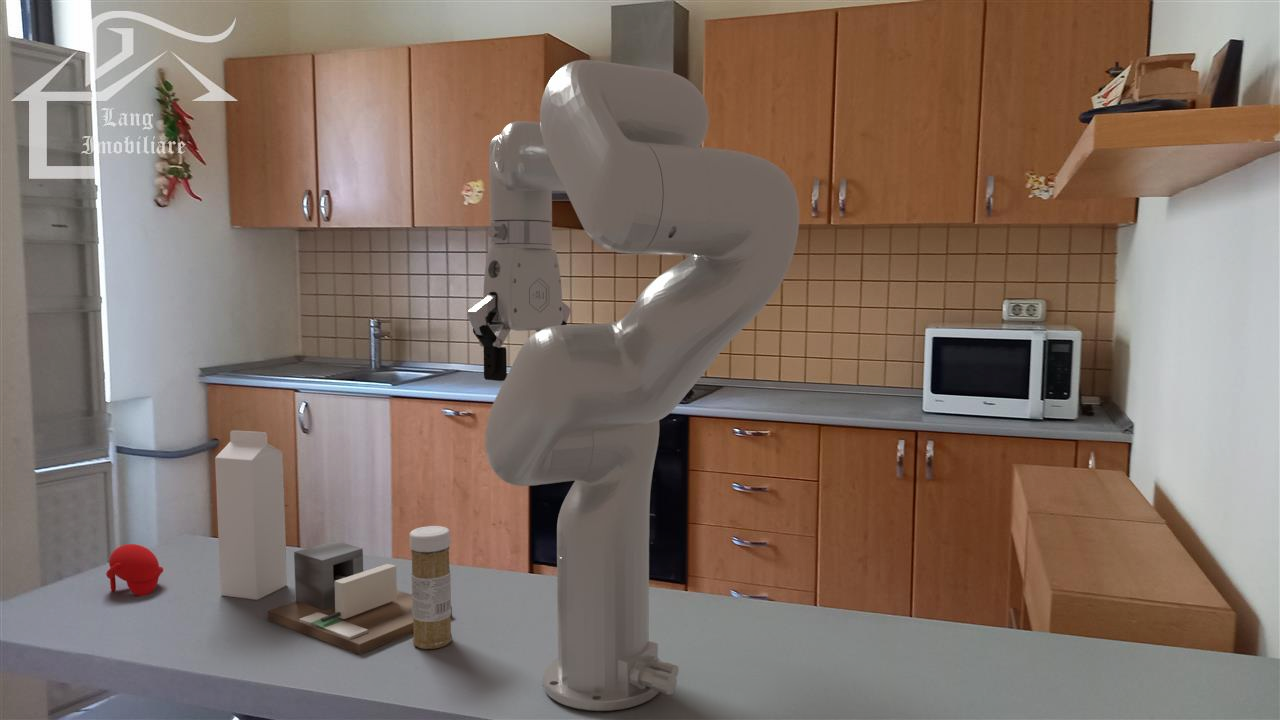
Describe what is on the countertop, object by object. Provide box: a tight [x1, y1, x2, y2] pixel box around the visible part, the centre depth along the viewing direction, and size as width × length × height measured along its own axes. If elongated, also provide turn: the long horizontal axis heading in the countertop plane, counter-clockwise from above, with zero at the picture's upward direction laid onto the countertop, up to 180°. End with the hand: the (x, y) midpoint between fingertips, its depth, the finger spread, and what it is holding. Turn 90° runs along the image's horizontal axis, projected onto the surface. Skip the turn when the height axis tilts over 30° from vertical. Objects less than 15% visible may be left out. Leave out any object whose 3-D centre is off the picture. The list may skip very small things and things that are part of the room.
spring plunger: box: [321, 563, 398, 622], centre depth 108 cm, size 7×10×4 cm, turn 145°
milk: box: [214, 430, 288, 601], centre depth 118 cm, size 6×6×22 cm
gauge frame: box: [266, 540, 453, 656], centre depth 109 cm, size 18×14×8 cm
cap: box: [105, 543, 164, 597], centre depth 119 cm, size 8×6×6 cm
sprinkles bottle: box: [409, 525, 453, 650], centre depth 101 cm, size 5×5×14 cm
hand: (522, 376), depth 108 cm, fingers open, 9 cm apart
